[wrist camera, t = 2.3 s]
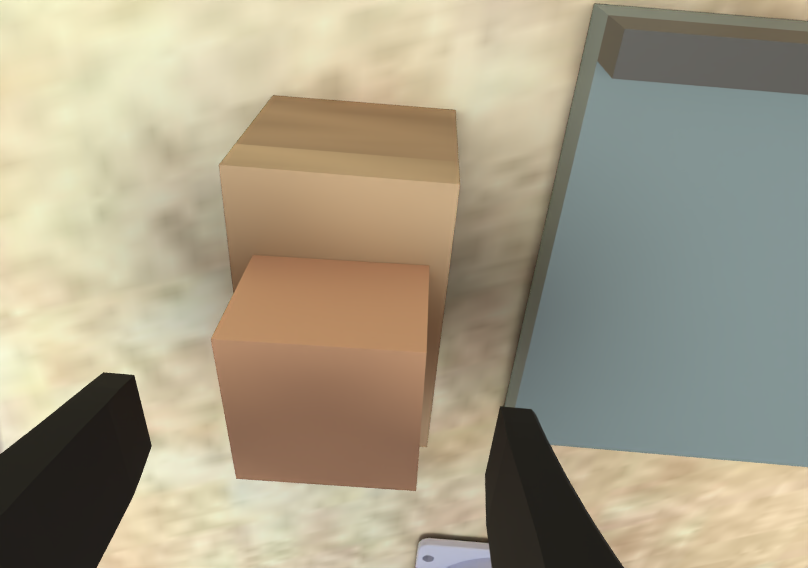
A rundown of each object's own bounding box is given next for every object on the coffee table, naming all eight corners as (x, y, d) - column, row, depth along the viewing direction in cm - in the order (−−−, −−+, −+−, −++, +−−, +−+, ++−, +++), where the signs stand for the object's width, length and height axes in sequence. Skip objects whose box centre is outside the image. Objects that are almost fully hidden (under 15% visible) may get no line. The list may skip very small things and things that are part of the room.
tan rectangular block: (429, 335, 21) (426, 447, 17) (286, 323, 21) (249, 432, 17) (455, 108, 17) (460, 184, 13) (274, 93, 17) (218, 165, 13)
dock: (797, 435, 23) (841, 504, 20) (503, 410, 23) (510, 475, 20) (1044, 40, 15) (1166, 73, 12) (594, 3, 15) (624, 28, 12)
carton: (420, 394, 16) (415, 490, 13) (268, 384, 16) (236, 478, 13) (429, 265, 14) (426, 352, 11) (252, 254, 14) (211, 339, 11)
